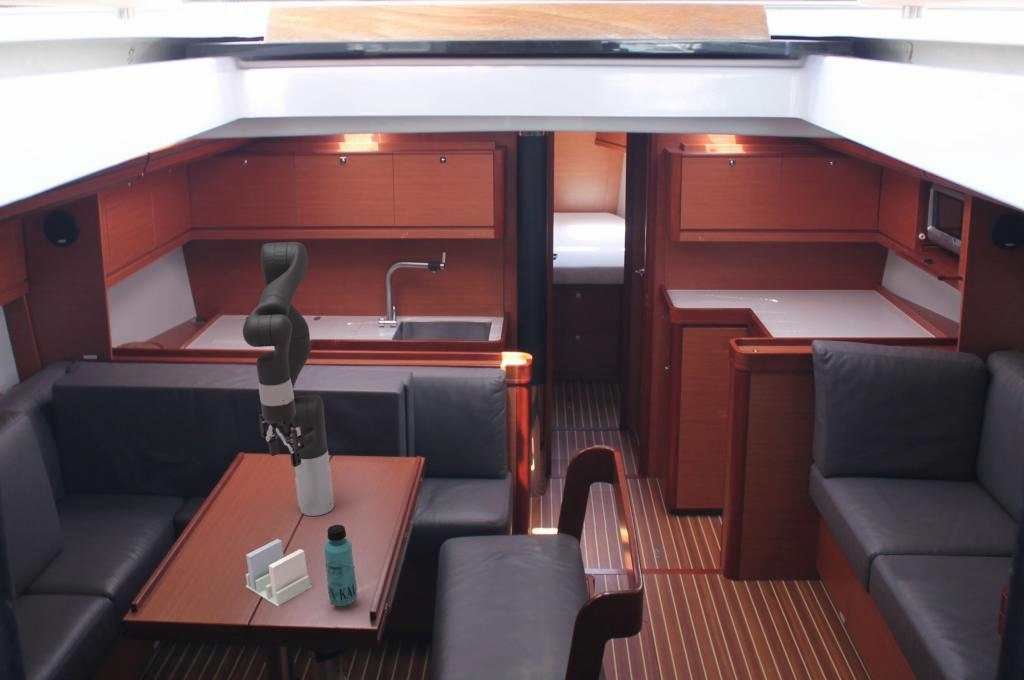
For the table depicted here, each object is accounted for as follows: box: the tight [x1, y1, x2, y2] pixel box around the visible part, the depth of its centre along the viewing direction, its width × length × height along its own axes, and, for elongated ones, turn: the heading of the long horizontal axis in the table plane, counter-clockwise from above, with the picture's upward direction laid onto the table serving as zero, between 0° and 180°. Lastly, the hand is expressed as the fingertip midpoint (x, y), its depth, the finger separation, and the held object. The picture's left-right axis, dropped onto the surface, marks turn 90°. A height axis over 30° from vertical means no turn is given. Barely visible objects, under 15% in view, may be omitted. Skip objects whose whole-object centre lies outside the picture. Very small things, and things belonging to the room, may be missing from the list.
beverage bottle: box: [323, 524, 358, 607], centre depth 221 cm, size 6×7×20 cm
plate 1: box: [245, 538, 285, 590], centre depth 231 cm, size 2×9×9 cm, turn 138°
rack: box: [245, 572, 313, 607], centre depth 230 cm, size 10×13×4 cm
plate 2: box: [269, 548, 308, 601], centre depth 227 cm, size 2×9×9 cm, turn 139°
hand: (285, 460), depth 228 cm, fingers open, 8 cm apart
